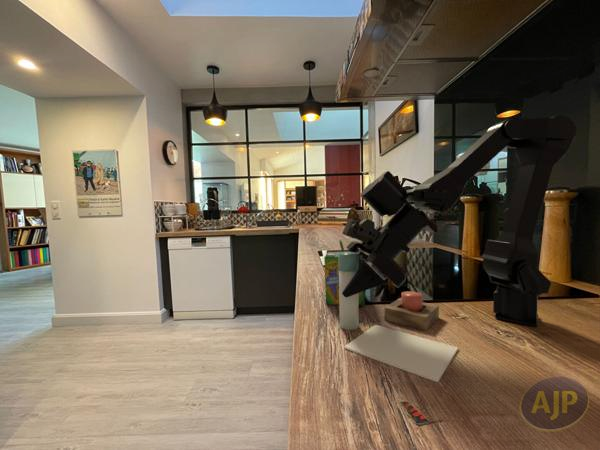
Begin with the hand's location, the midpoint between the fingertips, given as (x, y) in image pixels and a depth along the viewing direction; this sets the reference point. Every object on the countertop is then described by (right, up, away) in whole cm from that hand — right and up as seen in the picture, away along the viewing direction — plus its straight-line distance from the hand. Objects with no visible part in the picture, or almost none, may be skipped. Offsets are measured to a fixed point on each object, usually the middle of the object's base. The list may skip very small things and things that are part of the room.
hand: (341, 292), depth 53 cm
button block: (+15, -6, +3) cm, 16 cm away
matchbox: (+6, -8, -22) cm, 24 cm away
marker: (+1, -7, 0) cm, 7 cm away
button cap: (+15, -5, +3) cm, 16 cm away
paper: (+8, -7, -9) cm, 14 cm away
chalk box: (+3, -6, +16) cm, 17 cm away
